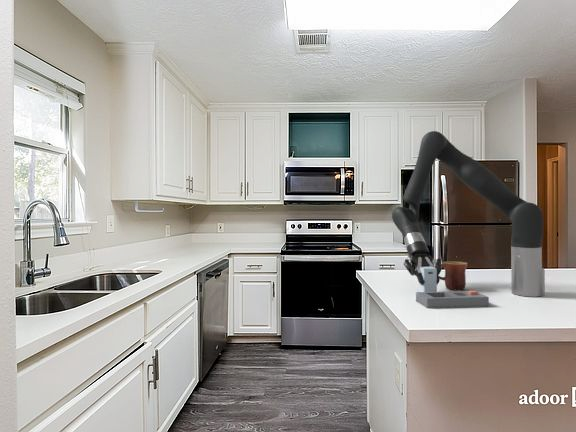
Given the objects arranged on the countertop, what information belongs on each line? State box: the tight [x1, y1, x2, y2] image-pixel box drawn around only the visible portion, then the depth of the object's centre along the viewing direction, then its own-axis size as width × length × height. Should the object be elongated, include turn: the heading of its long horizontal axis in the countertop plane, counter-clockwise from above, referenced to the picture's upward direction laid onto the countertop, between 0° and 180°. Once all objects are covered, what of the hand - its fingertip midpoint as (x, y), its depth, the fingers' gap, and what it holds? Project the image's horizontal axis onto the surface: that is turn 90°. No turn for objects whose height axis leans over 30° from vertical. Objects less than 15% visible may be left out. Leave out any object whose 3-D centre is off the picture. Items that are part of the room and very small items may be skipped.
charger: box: [418, 267, 438, 292], centre depth 129 cm, size 4×5×10 cm
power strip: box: [415, 290, 490, 309], centre depth 119 cm, size 20×9×4 cm, turn 92°
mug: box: [434, 260, 468, 291], centre depth 141 cm, size 12×9×10 cm
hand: (430, 283), depth 128 cm, fingers closed on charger, 4 cm apart
